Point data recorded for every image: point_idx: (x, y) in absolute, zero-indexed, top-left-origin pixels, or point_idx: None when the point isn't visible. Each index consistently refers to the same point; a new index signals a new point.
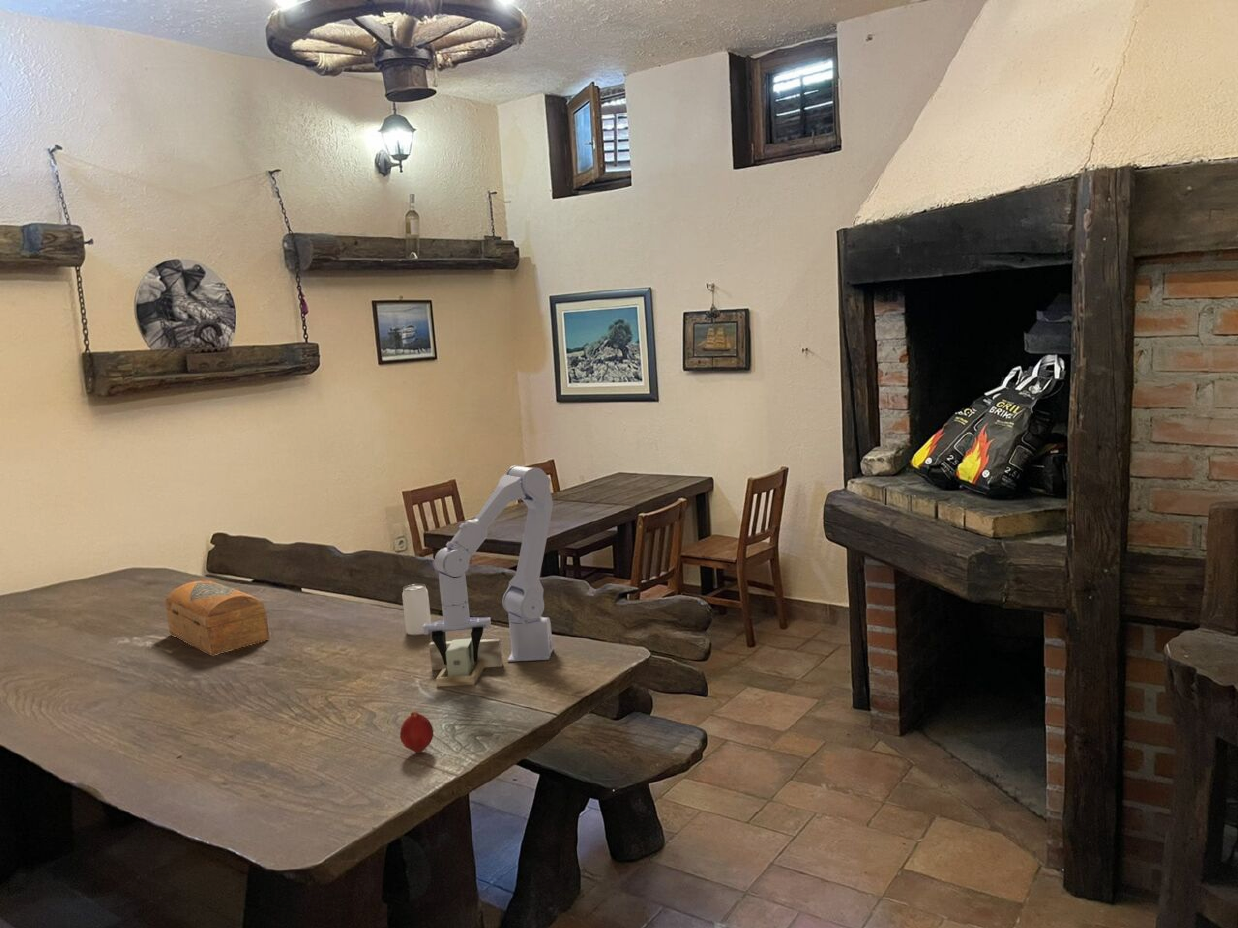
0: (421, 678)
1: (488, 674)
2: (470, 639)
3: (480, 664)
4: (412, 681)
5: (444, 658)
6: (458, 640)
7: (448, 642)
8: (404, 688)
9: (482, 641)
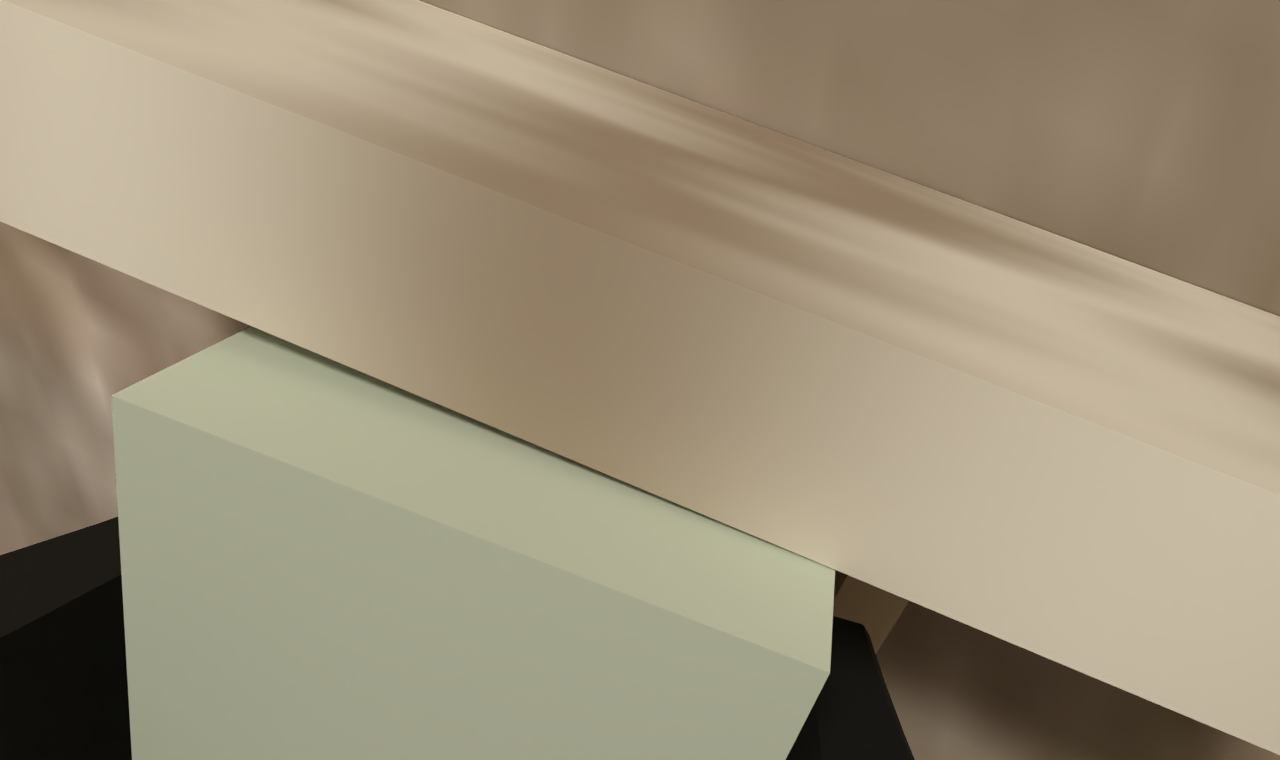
0: (118, 317)
1: (976, 652)
2: (740, 740)
3: (903, 605)
4: (43, 360)
5: None
6: (321, 576)
7: (54, 148)
8: (26, 512)
9: (1198, 699)
